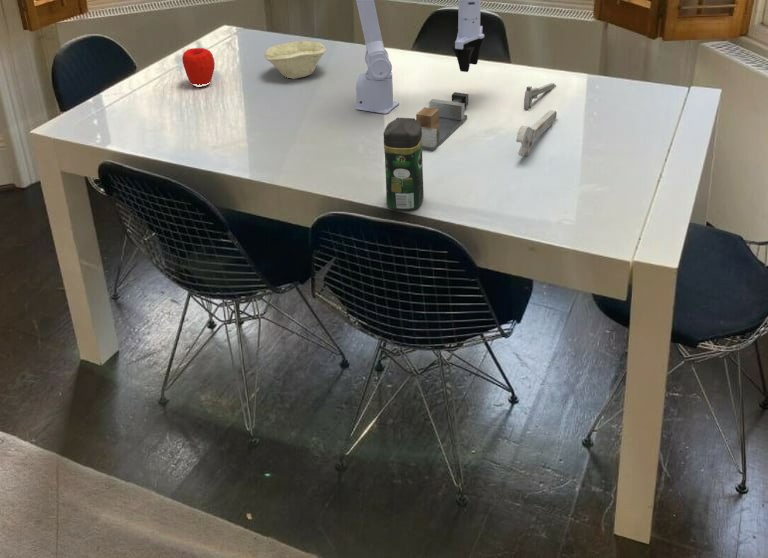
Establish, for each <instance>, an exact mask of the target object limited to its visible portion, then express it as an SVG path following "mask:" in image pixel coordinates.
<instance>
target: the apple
mask: <svg viewBox="0 0 768 558" xmlns="http://www.w3.org/2000/svg"><path fill="white" fill-rule="evenodd" d="M181 60H182V64H183V67H184V71H185V74H186V76H187V79H188V81H189V82H190V84H191V83H192V84H197V85H199V84H200V85H202V84H207V83H209V82H210V83H211V82H212V79H213V76H214V72H215V65H216V64H215V58H214V55H213V53H212V52H211V51H210V50H208V49H207V48H204V47H203V48H201V47H193V48H189V49H187V50H186V51H184V52H183V54H182V59H181ZM192 84H191V85H192Z"/></svg>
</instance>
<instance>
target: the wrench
mask: <svg viewBox="0 0 768 558" xmlns="http://www.w3.org/2000/svg"><path fill="white" fill-rule="evenodd" d="M554 121H555V122H556V121H557V111H556V110H552V109H549V110H548V111H547V112H546V113H545V114H544V115H543V116H542V117H541V118H540V119H539V120H537V121H536V122H535V123H534V124H533V125H532V126H531V127H530V126H529V125H528V126H527V125H521V126H520V127H519V130H518V132H517V135H516V139H515V141H516V143H521V146H519V147H520V148H519V149H518V151H517V154H518V156H520V157H530V153H531V150H532V148H533V144H534V142H535V141H536V139H538V138H539V137H540V136H541V135H542V134H543V133H544V132H546V130H547V129H548V128H550V127H551V126H552V125H553V124H554V123H555V122H554Z"/></svg>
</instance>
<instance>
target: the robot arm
mask: <svg viewBox="0 0 768 558" xmlns="http://www.w3.org/2000/svg"><path fill="white" fill-rule="evenodd" d="M457 1H458V5H457V6H458V9H457V10H458V13H457V14H458V15H457V16H458V18H457V19H458V22H457V23H458V25H457V29H458V31H457V34H456V35H457V36H456V40H455V41H454V44H452V48H451V49H452V51H453V52H454V55H455V57H456V59H457V64H458V66H459V71H460V72H464V73H469V70H470V65H477V64H478V62H479V58H480V57H479V56H480V54H481V51H482V46H483V45H484V42H485V41H486V36H485V33H483V25H481V7H482V6H481V0H457ZM355 2H356V5H357V11H358V15H359V20H360V24H361V29H362V33H363V38H364V43H365V49H366V51H365V56H364V60H365V63H366V66H367V69H366V72H365V73H360V74H359V75H358V77H357V79H356V84H355V91H356V95H355V96H356V107H355V110H359V111H363V112H364V111H365V112H372V113H378V114H388V113H390V112H392V110H393V109H395V108H397V106H399V105H400V101H394V89H393V85H394V84H393V73H392V69H393V66H392V62H391V60H390V58H389V53H388V51H387V50H386V49H385V45H384V42H383V37H382V33H381V27H380V22H379V18H378V17H379V16H378V14H377V8H376V3H375V0H355Z"/></svg>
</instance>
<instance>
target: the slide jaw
mask: <svg viewBox="0 0 768 558" xmlns="http://www.w3.org/2000/svg"><path fill="white" fill-rule="evenodd" d="M428 104H429V105H428V106H429V107H428V108H434V109H439V117H442V118H449V119H455V120H462V119H463V118H464V115H465V108H467V107H468V106H469V93H466V92H465V93H464V92H456V91H454V92H453V93H452V94H451V101H450V100H443V99H438V98H437V99H436V98H432V99H431V100H430V101H429V103H428Z"/></svg>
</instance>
